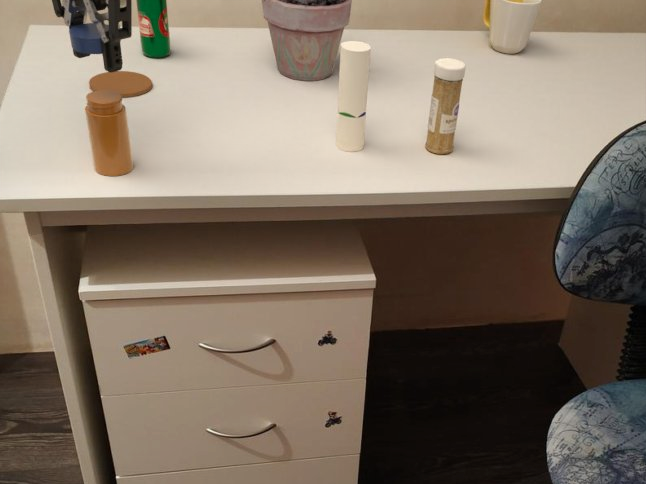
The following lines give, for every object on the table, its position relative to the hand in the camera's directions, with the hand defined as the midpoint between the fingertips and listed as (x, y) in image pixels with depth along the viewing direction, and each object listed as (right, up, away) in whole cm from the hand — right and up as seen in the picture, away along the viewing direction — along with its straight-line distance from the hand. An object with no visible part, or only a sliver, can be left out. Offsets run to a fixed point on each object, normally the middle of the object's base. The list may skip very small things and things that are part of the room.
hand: (97, 62), depth 103 cm
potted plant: (+22, +15, +43) cm, 51 cm away
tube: (+31, -4, +22) cm, 38 cm away
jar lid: (0, +3, -2) cm, 4 cm away
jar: (-1, -11, +9) cm, 14 cm away
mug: (+61, +29, +64) cm, 93 cm away
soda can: (-5, +19, +43) cm, 47 cm away
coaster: (-7, +9, +31) cm, 33 cm away
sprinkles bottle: (+45, -4, +24) cm, 51 cm away
